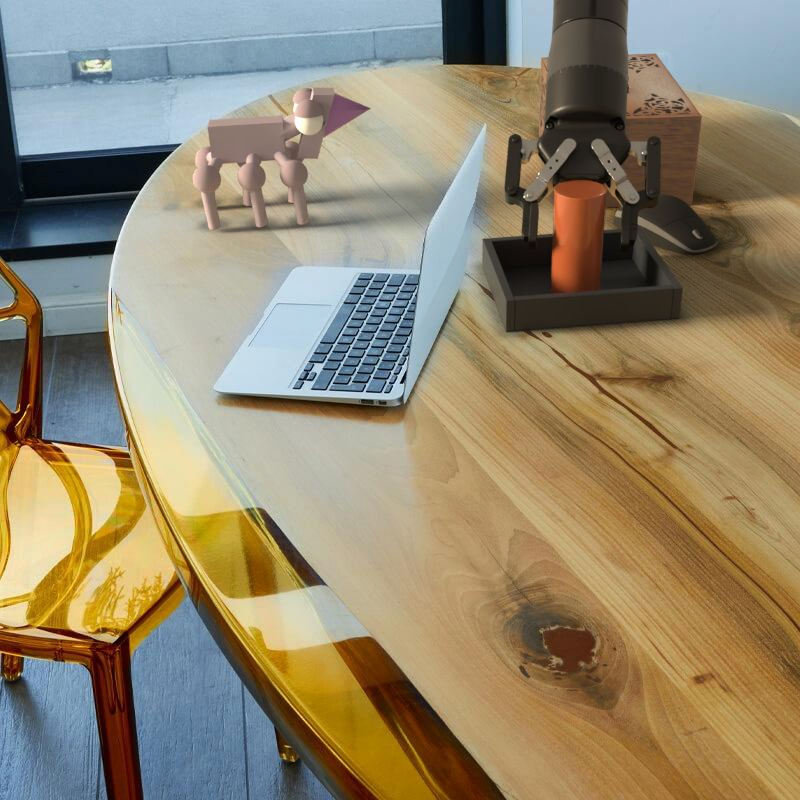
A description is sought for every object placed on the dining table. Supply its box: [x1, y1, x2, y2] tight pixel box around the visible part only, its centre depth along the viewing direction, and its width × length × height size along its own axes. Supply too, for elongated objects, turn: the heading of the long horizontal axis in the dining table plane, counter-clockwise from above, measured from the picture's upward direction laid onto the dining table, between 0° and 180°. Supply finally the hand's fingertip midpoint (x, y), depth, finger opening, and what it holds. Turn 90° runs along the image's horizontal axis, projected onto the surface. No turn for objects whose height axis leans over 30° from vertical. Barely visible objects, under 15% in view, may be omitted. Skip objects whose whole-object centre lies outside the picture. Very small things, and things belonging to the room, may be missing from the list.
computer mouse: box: [613, 194, 718, 256], centre depth 111 cm, size 7×12×4 cm, turn 32°
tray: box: [481, 228, 684, 333], centre depth 100 cm, size 16×14×4 cm
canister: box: [551, 180, 607, 294], centre depth 98 cm, size 5×5×10 cm
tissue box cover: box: [538, 53, 703, 209], centre depth 128 cm, size 26×14×10 cm, turn 179°
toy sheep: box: [192, 87, 372, 231], centre depth 118 cm, size 20×11×14 cm, turn 95°
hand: (578, 247), depth 97 cm, fingers open, 7 cm apart
